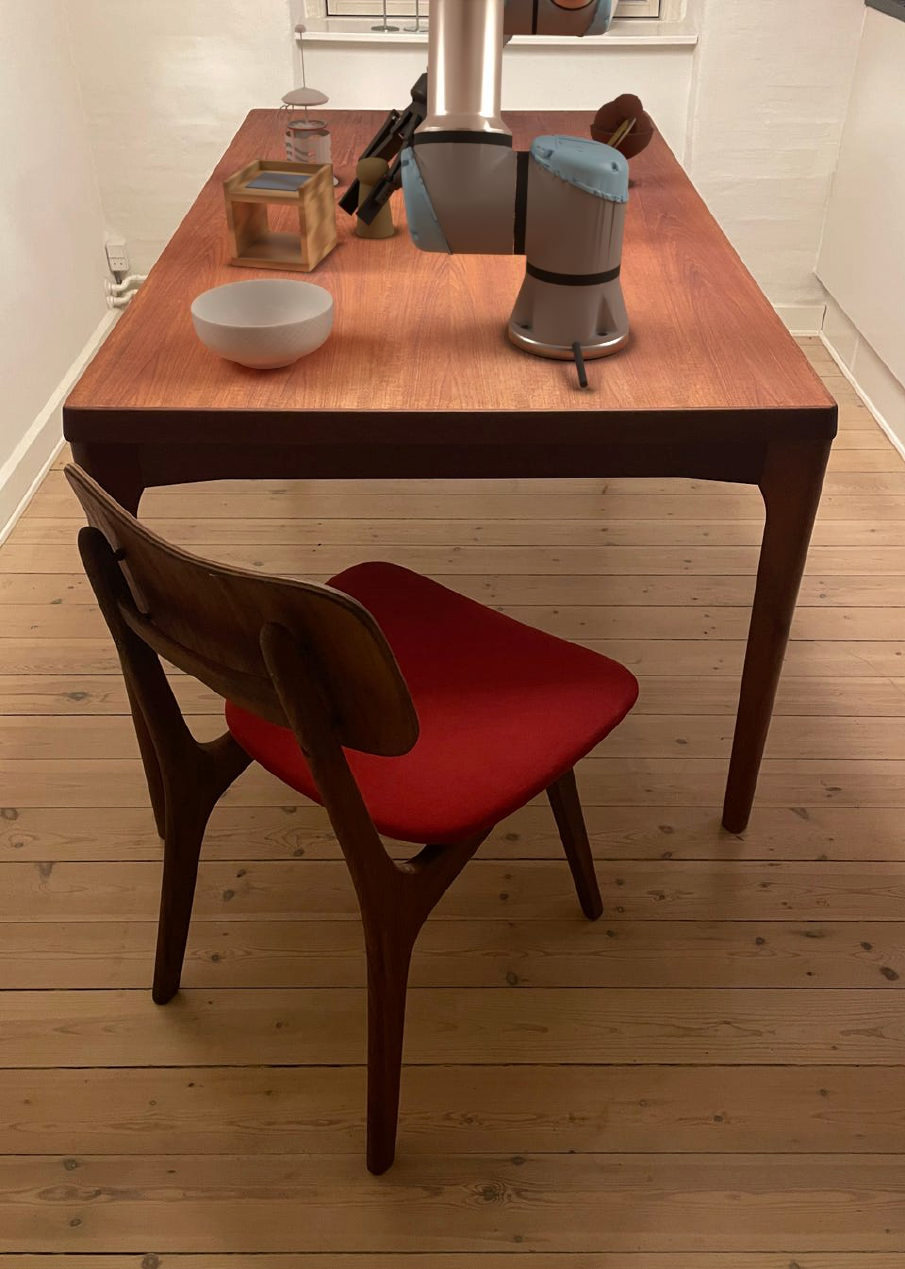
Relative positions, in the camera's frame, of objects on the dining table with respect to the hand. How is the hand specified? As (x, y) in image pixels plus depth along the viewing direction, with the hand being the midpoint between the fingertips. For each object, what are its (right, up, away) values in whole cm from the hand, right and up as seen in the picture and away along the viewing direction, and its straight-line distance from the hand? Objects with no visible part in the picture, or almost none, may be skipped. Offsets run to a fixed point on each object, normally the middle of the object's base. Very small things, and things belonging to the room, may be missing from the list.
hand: (353, 214), depth 173 cm
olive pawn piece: (+3, -2, +4) cm, 5 cm away
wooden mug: (+35, -3, +2) cm, 36 cm away
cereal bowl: (-7, -31, -35) cm, 48 cm away
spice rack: (-10, -8, -5) cm, 14 cm away
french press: (-11, +16, +27) cm, 33 cm away
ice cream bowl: (+45, +15, +26) cm, 54 cm away
